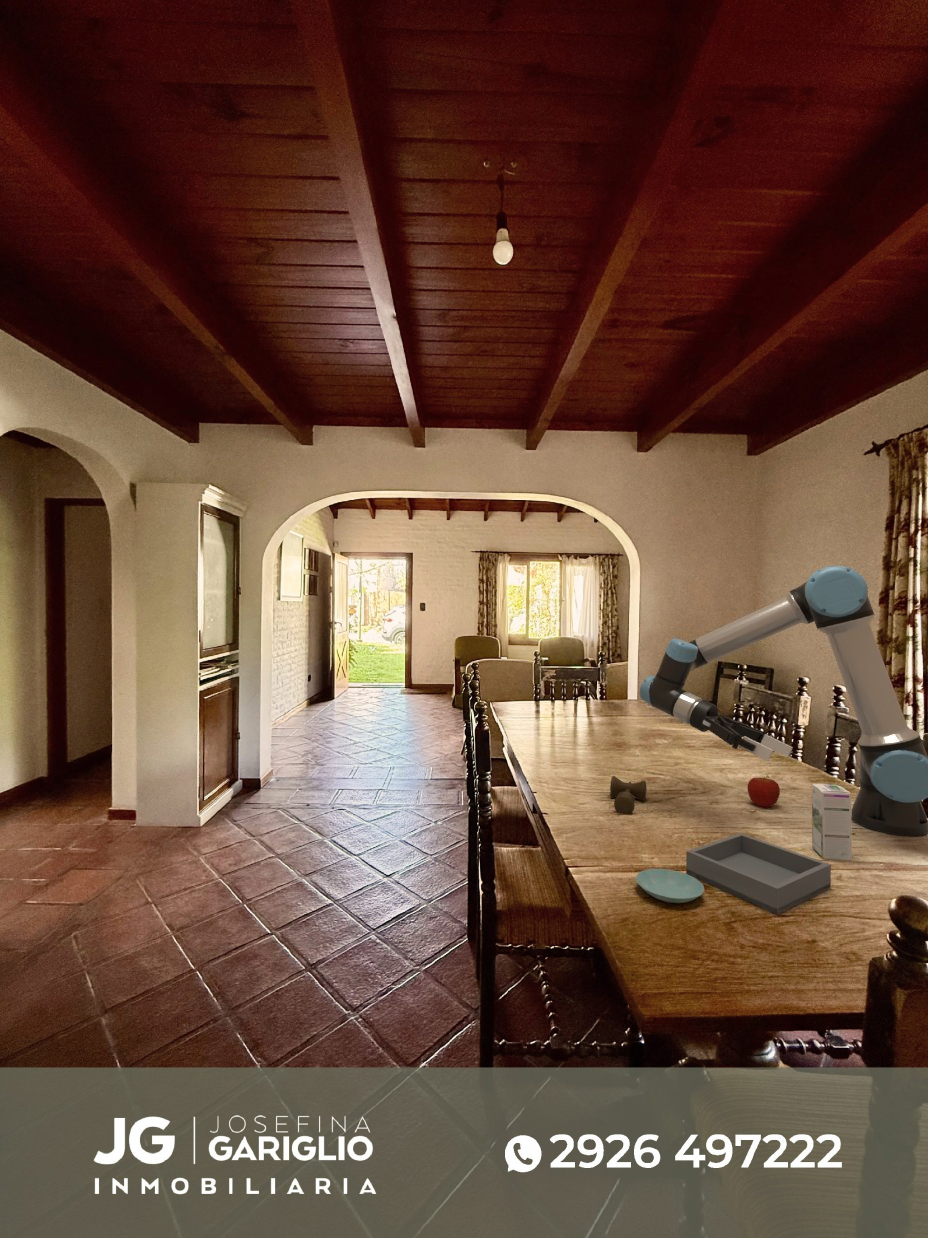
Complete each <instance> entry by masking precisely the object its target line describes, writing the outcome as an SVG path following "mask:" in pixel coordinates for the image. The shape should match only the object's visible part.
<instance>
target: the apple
mask: <svg viewBox="0 0 928 1238" xmlns="http://www.w3.org/2000/svg"><path fill="white" fill-rule="evenodd" d="M780 791H781V790H780V786H779V783H778V782H777V781H775V780H774V779H771V778H768V777H765V776H764V777H752V778H751V779H749V781H748V783H747V792H748V796H749V799H750V801H751V802H752V803H753V804H755V806H757V807H761V808H771V807H773V806H774V805H776V804H777V802H778V800H779V798H780V796H781V795H780V793H781V792H780Z"/></svg>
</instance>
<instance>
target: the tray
mask: <svg viewBox="0 0 928 1238" xmlns="http://www.w3.org/2000/svg"><path fill="white" fill-rule="evenodd" d="M685 855H686V857H685V858H686V862H685V864H686V865H685V866H686V871H685V872H686V873H685V874H687V875H690V876H692V877H694V878H695V879H697V880H698V881H701V882H704V883H705V884H708V885H710V886H712V887H714V888H717V889H719V890H721V891H724V892H726V893H727V894H730V895H732V896H734V897H737V898H738V899H741V900H743V901H745V902H748V903H750V904H751V905H755V906H757V907H758V908H761V909H763V910H765V911H767V912H770V913H772V914H774V915H776V916H778V915H780V914H782V913H784V912H787V911H789V910H791V909H793V908H795V907H797V906H799V905H801V904H803V903H804V902H806V901H809V900H811V899H813V898H815V897H817V896H818V895H820V894H822V893H825V892H826V891H829V890H831V888H832V887H831V886H832V885H831V884H832V883H831V882H832V881H831V879H832V872H831V871H832V865H831V864H830V863H828V862H824V861H822V860H819V859H816V858H813V857H810V856H808V855H805V854H801V853H798V852H795V851H794V850H791V849H787V848H784V847H781V846H779V845H775V844H773V843H771V842H768V841H764V840H761V839H758V838H756V837H753V836H750V835H747V834H744V833H741V832H739V833H736V834H733V835H731V836H730V835H729V836H727V837H725V838H721V839H719V840H716V841H713V842H709V843H706V844H703V845H701V846H698V847H695V848H694V847H693V848H691V849H689V850H686V853H685Z"/></svg>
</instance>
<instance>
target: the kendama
mask: <svg viewBox="0 0 928 1238" xmlns="http://www.w3.org/2000/svg"><path fill="white" fill-rule="evenodd" d="M609 787H610V789H609V791H610V792H609V793H610V795H609V796H610V798H611V799H614V802H613V805H614V809H615V811H616V812H617V813H619V814H621V813H623V814H622V815H630V814H632V813H633V812H634V810H635V800H636V799H638V800H639V801H641V802H643V801H644V802H645V801H646V798H647V781H646V780H641V781H639V782H634V783H632V782H631V781H629V782H624V781H622V780H620V779H619V778H618V777H616V776H615V775H612V776H611V779H610V786H609ZM635 798H636V799H635Z"/></svg>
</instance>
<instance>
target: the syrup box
mask: <svg viewBox="0 0 928 1238" xmlns="http://www.w3.org/2000/svg"><path fill="white" fill-rule="evenodd" d="M811 814H812V815H811V819H812V820H811V822H812V823H811V825H812V826H811V828H812V829H811V831H812V832H811V833H812V837H811V838H812V839H811V841H812V845H811V846H812V847H811V848H812V850H814V851H815V852H816V853H817V854H818V855H819V856H820V857H821V858H822V859H823V860H824V859H825V860H833V861H844V860H846V861H848V862H849V861H850V862H851V861H852V857H853V856H852V855H853V854H852V850H853V849H852V845H853V843H852V818H851V817H852V793H851V792H850V791H848V790H847V789H846V788H844V787H842V786H840V785H839V784H834V783H812V785H811Z"/></svg>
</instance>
